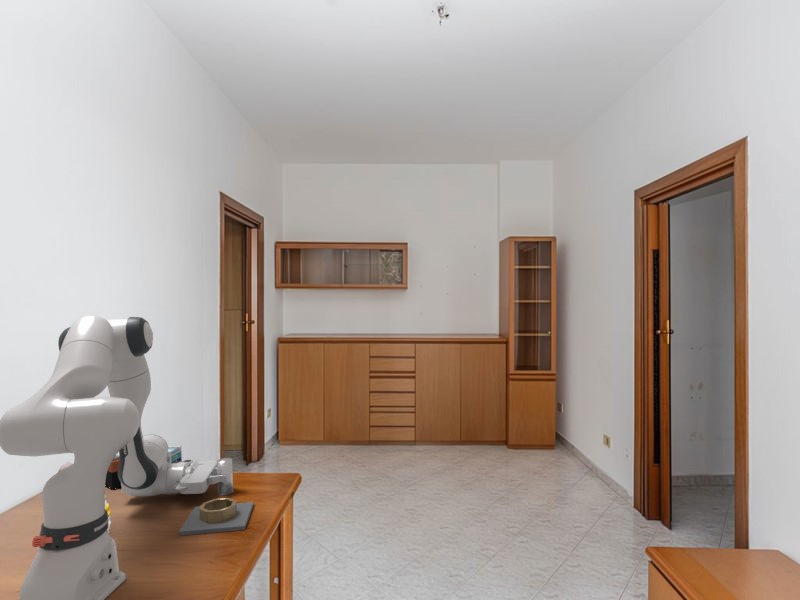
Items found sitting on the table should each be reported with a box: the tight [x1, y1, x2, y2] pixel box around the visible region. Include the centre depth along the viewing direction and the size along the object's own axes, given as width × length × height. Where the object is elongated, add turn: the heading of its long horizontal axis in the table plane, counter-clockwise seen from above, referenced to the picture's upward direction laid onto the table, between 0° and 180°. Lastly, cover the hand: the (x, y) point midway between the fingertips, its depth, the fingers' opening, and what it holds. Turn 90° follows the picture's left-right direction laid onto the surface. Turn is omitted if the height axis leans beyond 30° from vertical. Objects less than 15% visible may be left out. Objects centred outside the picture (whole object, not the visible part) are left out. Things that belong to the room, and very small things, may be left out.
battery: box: [105, 454, 121, 490], centre depth 171 cm, size 4×7×10 cm, turn 51°
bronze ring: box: [199, 497, 238, 524], centre depth 142 cm, size 9×9×3 cm
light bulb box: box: [167, 445, 183, 464], centre depth 175 cm, size 11×7×11 cm, turn 84°
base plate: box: [178, 501, 255, 537], centre depth 142 cm, size 16×16×1 cm
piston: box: [216, 457, 234, 497], centre depth 162 cm, size 4×4×10 cm
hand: (227, 474), depth 162 cm, fingers closed on piston, 4 cm apart
